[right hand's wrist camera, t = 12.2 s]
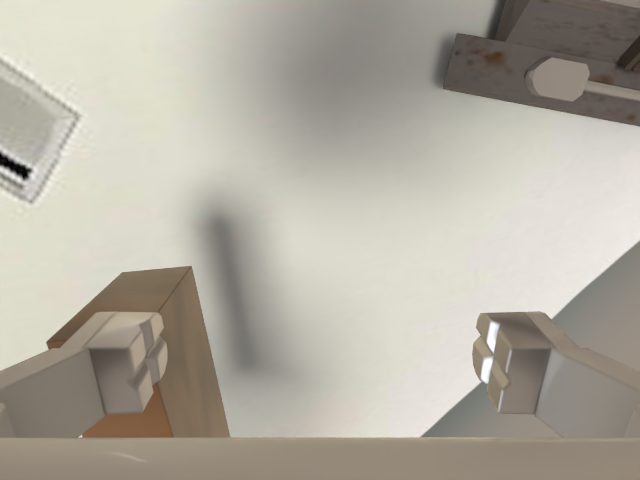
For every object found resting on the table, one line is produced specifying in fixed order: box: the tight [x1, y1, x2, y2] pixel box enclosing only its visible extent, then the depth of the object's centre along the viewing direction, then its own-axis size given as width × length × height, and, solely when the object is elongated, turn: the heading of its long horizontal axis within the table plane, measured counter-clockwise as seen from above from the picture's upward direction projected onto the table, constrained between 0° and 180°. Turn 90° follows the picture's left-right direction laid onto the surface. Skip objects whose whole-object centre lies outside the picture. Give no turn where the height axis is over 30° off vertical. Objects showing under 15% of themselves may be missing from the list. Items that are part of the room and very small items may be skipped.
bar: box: [46, 266, 230, 438], centre depth 29 cm, size 22×5×9 cm, turn 6°
